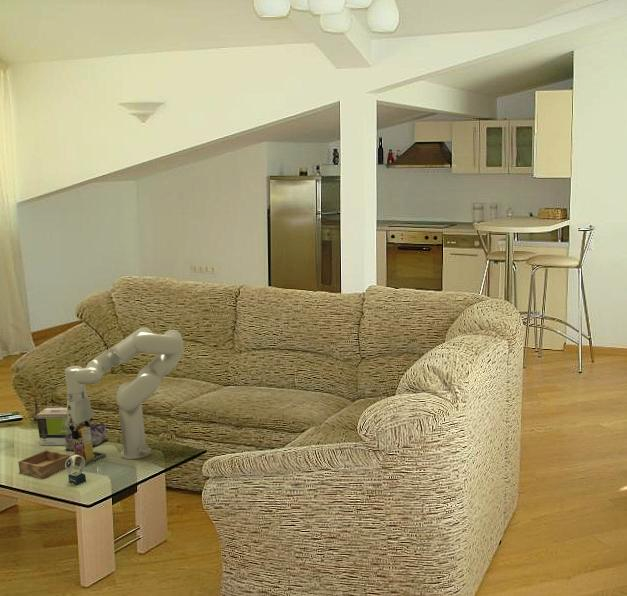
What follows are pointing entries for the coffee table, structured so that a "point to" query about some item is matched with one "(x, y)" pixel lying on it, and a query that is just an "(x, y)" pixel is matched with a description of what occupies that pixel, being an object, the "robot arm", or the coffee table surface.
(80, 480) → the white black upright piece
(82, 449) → the candy box
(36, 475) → the crate
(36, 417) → the eiffel tower figurine
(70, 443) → the geode
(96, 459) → the grey square frame
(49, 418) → the tea box
